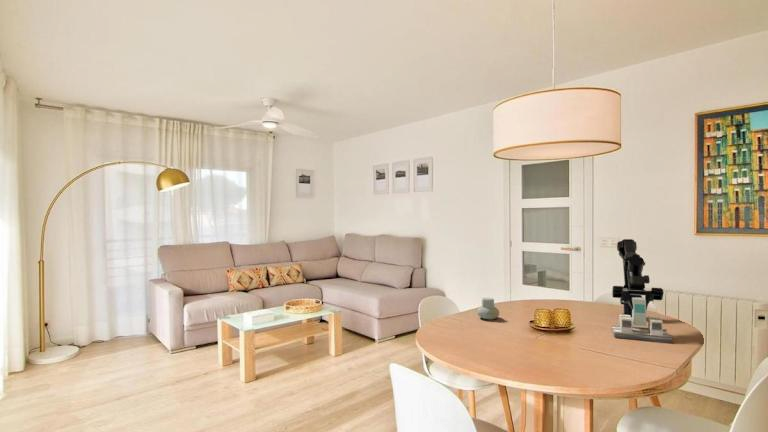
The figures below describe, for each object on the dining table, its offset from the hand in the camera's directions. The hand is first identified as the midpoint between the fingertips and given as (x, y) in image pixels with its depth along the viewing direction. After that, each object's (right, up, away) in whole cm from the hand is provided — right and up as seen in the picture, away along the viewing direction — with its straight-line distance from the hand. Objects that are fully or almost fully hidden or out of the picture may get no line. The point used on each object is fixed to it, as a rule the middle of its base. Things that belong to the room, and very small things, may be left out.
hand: (639, 309), depth 169 cm
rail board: (-1, -11, -2) cm, 11 cm away
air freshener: (-56, -12, +32) cm, 66 cm away
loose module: (+1, -7, +1) cm, 7 cm away
